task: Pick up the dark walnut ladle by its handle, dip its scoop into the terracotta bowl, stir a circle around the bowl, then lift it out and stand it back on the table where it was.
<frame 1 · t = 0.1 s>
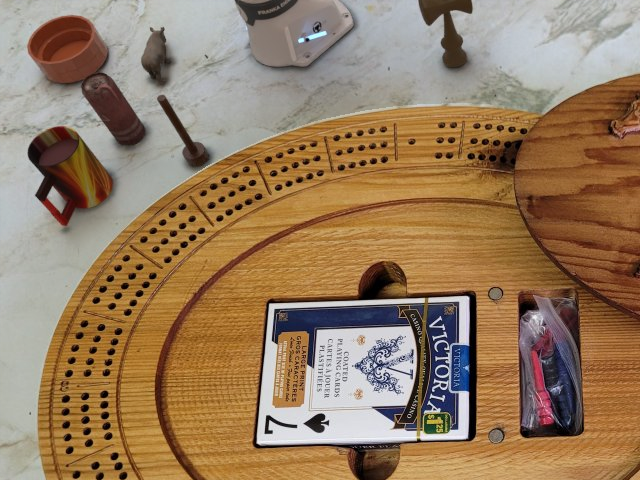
ladle: (198, 158, 162), on the countertop
mug: (89, 197, 160), on the countertop
kendama: (455, 61, 168), on the countertop
rhino figurine: (164, 62, 175), on the countertop
bowl: (76, 61, 177), on the countertop
can: (132, 136, 166), on the countertop
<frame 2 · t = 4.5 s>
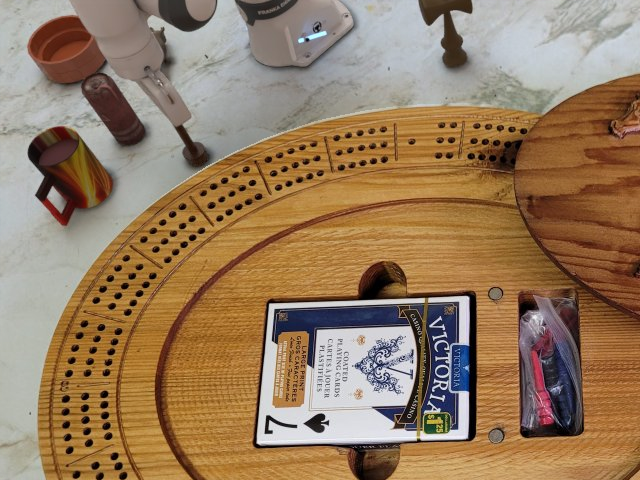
hand: (170, 113, 151), 12 cm above the countertop, tool pointing down, fingers closed on ladle, 2 cm apart
ladle: (198, 158, 162), on the countertop, touching gripper
everything else where it was.
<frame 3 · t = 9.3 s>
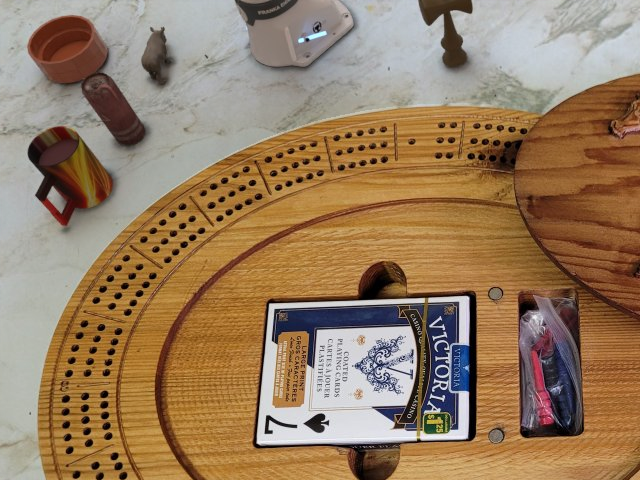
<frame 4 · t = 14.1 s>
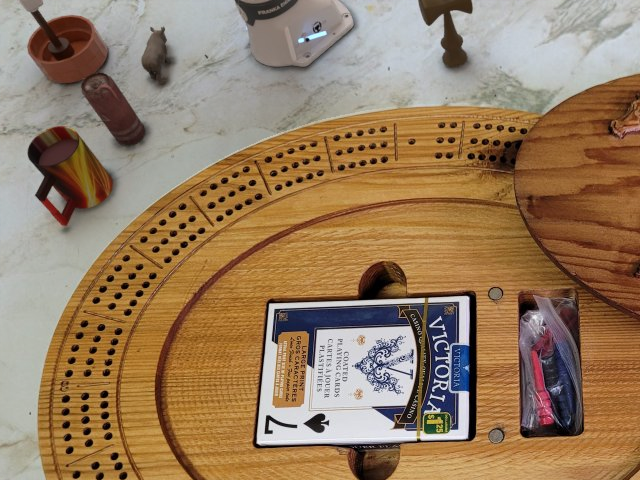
hand: (31, 5, 165), 14 cm above the countertop, tool pointing down, fingers closed on ladle, 2 cm apart
ladle: (64, 54, 175), point 2 cm above the countertop, touching gripper
everything else where it was.
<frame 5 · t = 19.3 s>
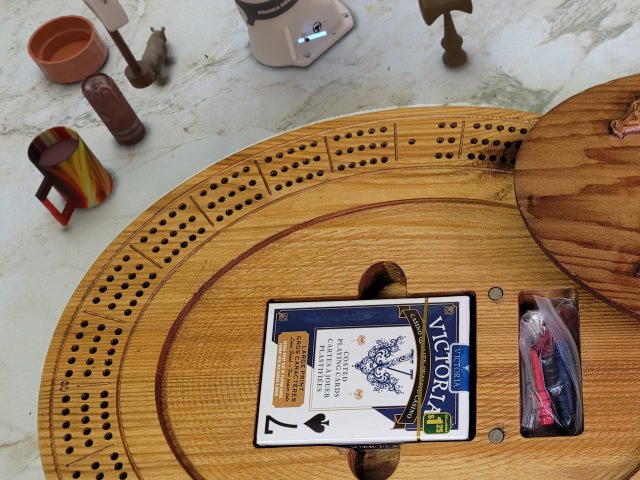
hand: (109, 22, 136), 31 cm above the countertop, tool pointing down, fingers closed on ladle
ladle: (143, 79, 146), point 19 cm above the countertop, touching gripper
everything else where it was.
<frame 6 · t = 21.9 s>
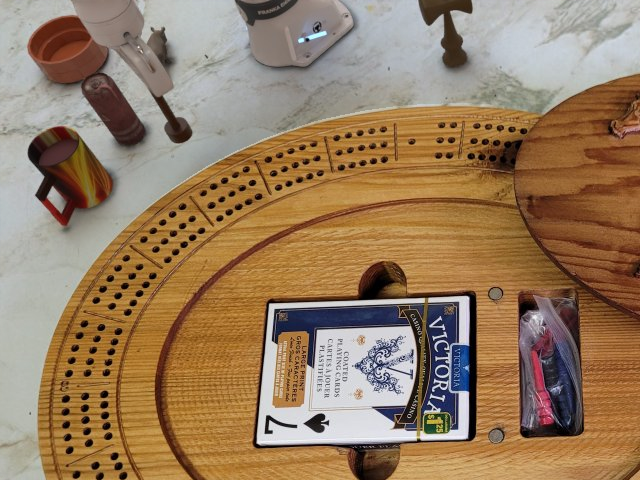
hand: (152, 85, 145), 19 cm above the countertop, tool pointing down, fingers closed on ladle
ladle: (181, 134, 156), point 7 cm above the countertop, touching gripper
everything else where it was.
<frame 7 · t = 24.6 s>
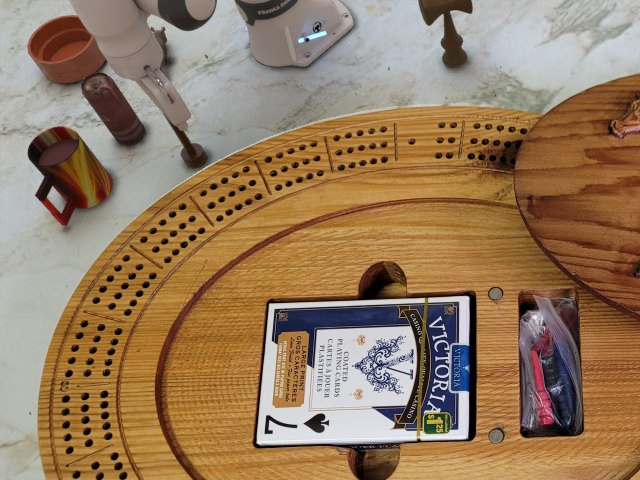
hand: (170, 112, 151), 12 cm above the countertop, tool pointing down, fingers open, 8 cm apart
ladle: (196, 160, 162), on the countertop
everything else where it was.
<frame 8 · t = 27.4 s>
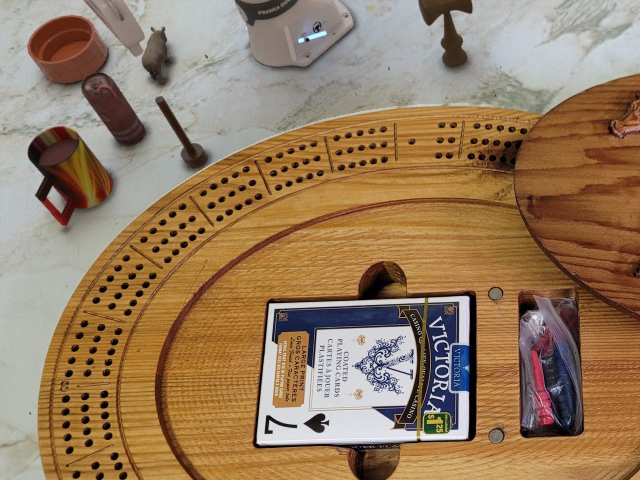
hand: (124, 38, 136), 29 cm above the countertop, tool pointing down, fingers open, 8 cm apart
nothing on the countertop moved.
at the end: ladle 0.4 cm from the target spot on the countertop beside the bowl, on the countertop; ladle tilted 0°; the gripper is holding nothing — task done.
